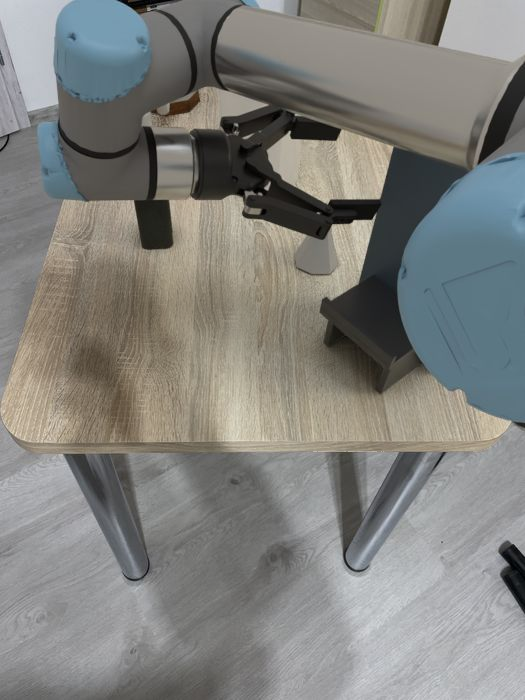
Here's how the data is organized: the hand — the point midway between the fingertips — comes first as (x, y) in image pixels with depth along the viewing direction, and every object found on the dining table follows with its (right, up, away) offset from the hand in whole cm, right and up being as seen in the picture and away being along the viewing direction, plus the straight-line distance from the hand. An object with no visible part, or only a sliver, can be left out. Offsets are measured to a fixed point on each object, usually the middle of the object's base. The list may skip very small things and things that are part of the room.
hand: (357, 168), depth 67 cm
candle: (-29, -4, +21) cm, 36 cm away
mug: (-32, +29, +47) cm, 64 cm away
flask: (-3, -8, +20) cm, 22 cm away
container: (-12, +10, +34) cm, 37 cm away
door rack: (+4, -23, +8) cm, 25 cm away
